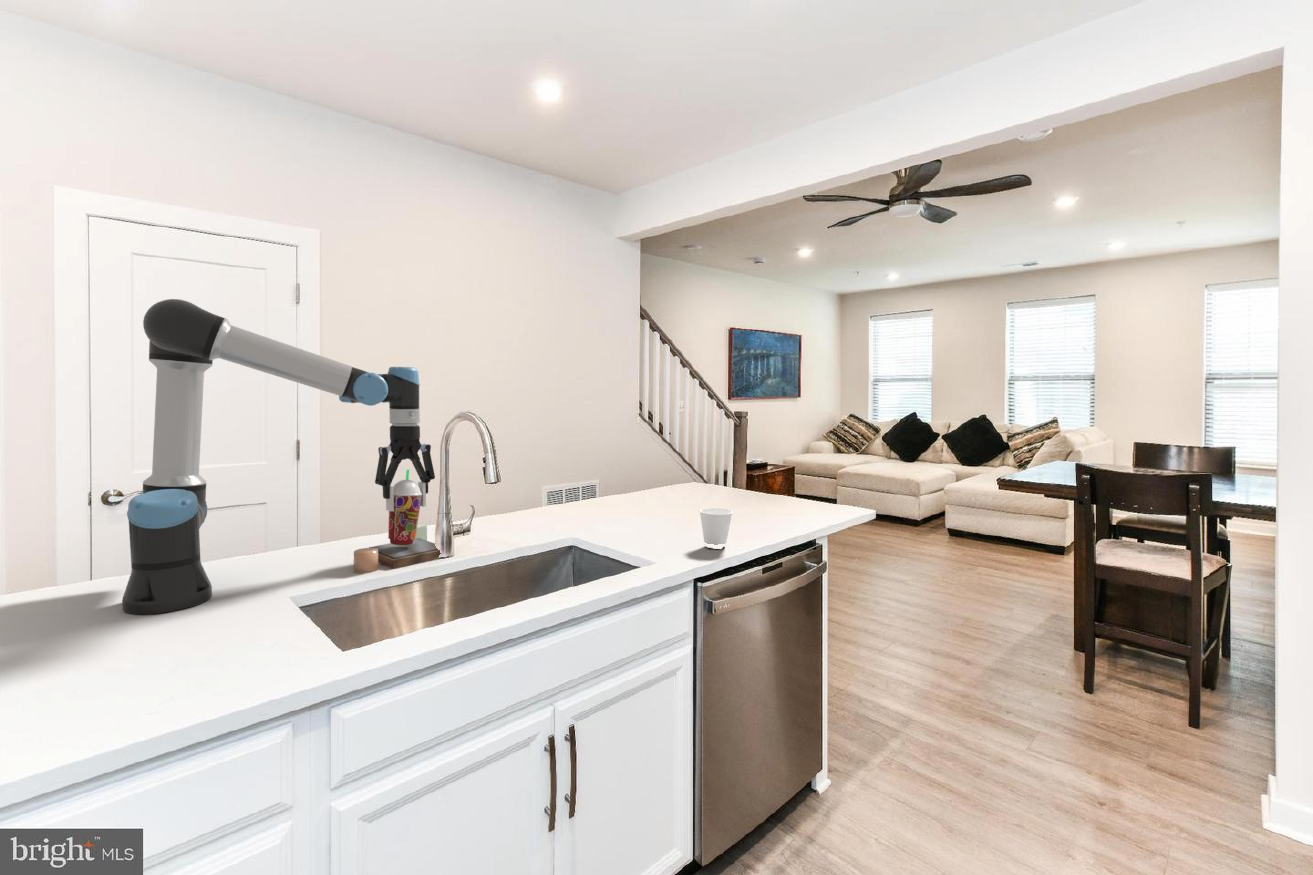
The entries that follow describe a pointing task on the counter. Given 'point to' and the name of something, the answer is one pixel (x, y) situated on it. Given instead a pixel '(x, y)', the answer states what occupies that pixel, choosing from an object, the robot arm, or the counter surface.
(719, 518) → the cup
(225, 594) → the counter surface
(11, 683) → the counter surface
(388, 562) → the podium
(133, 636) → the counter surface
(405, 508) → the smoothie
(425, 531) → the sage box
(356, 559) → the rounded peach cube
